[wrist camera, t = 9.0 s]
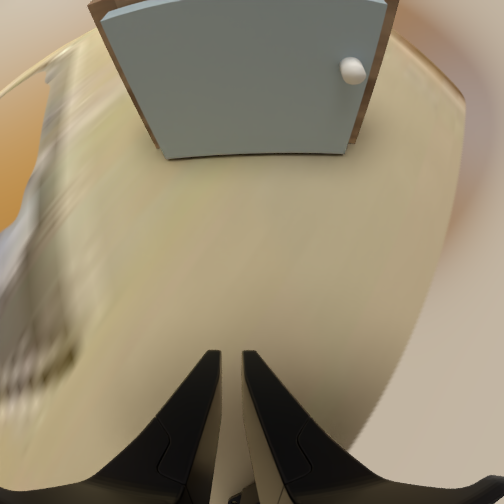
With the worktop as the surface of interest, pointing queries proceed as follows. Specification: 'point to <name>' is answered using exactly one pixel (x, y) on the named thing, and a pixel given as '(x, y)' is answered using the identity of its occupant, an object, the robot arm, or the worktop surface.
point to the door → (247, 71)
